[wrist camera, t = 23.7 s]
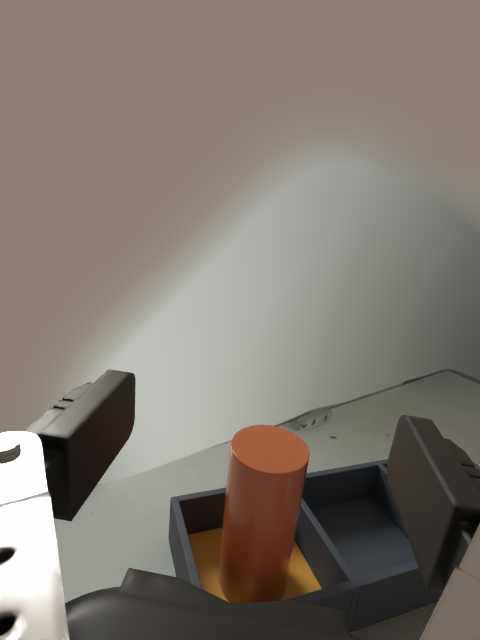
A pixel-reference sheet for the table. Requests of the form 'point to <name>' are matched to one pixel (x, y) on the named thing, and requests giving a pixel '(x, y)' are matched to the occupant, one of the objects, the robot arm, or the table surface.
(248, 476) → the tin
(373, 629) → the table surface
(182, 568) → the gray storage bin
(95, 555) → the table surface
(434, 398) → the table surface
